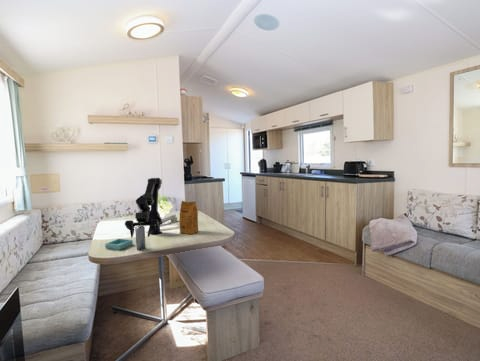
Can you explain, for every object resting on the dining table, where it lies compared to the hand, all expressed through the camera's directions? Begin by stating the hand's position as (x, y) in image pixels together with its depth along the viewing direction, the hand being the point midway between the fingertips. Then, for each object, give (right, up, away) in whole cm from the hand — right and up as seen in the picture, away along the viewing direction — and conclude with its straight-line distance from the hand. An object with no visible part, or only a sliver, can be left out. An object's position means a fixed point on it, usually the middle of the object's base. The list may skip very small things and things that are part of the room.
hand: (139, 237), depth 162 cm
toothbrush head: (-2, -2, +61) cm, 61 cm away
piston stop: (0, -7, +2) cm, 8 cm away
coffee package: (+22, -4, +34) cm, 41 cm away
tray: (-15, -7, +7) cm, 18 cm away
